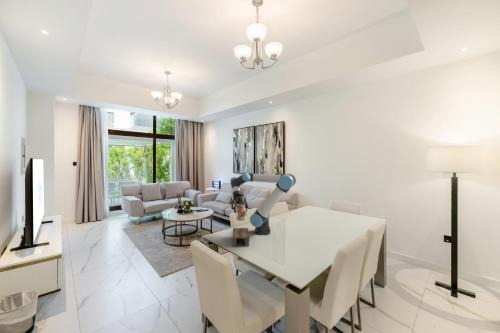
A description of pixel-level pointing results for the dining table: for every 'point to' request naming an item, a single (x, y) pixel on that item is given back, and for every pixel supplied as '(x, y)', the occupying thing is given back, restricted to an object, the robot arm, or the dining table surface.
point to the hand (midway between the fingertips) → (241, 215)
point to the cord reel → (240, 212)
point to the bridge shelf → (241, 235)
